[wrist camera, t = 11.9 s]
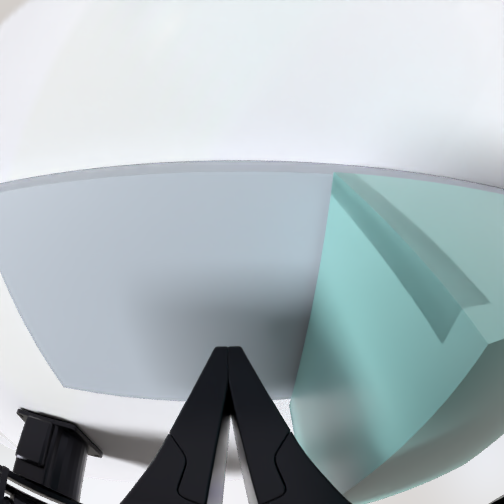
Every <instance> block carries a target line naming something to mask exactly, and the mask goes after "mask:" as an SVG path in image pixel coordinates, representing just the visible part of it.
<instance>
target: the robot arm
mask: <svg viewBox="0 0 504 504" xmlns="http://www.w3.org/2000/svg"><path fill="white" fill-rule="evenodd" d="M17 414H18V415H19V416H20V417H21V419H22V420H23V421H24V422H25V424H24V427H23V430H22V434H21V437H20V440H19V443H18V446H17V450H16V461H15V465H14V468H13V472H12V471H10V470H9V468H7V467H5V466H1V465H0V504H47V503H45V502H43V501H41V500H39V499H36V498H34V497H32V496H30V495H28V494H26V493H24V492H22V491H20V490H18V489H16V488H14V487H13V486H10V485H9V484H7V479H9V480H10V481H12V482H14V483H16V484H18V485H20V486H22V487H24V488H26V489H28V490H30V491H32V492H34V493H36V494H38V495H40V496H42V497H45V498H47V499H49V500H51V501H54V502H56V503H58V504H82V503H79V501H80V494H81V488H82V482H83V476H84V471H85V465H86V460H87V455H90V456H95V457H100V458H102V454H103V453H102V452H101V451H100V450H99V449H98V448H97V447H96V446H95V445H94V444H93V443H92V442H91V441H90V440H89V439H88V438H87V437H86V436H85V435H84V434H83V433H82V432H81V431H80V430H79V429H78V428H77V427H76V426H74V425H72V424H69V423H65V422H61V421H58V420H54V419H50V418H47V417H43V416H40V415H36V414H33V413H30V412H27V411H24V410H21V409H18V410H17ZM230 419H232V424H233V429H234V435H235V440H236V445H237V450H238V455H239V460H240V465H241V470H242V474H243V479H244V483H245V488H246V493H247V497H248V502H249V504H352V503H351V502H350V501H348V500H347V499H346V498H345V497H344V496H343V495H342V494H341V493H340V492H339V491H338V490H337V489H336V488H335V487H334V486H333V484H332V483H331V482H330V481H329V480H328V479H327V478H326V477H325V476H324V475H323V474H322V472H321V471H320V470H319V469H318V468H317V467H316V466H315V464H314V463H313V462H312V461H311V459H310V458H309V457H308V456H307V454H306V453H305V452H304V450H303V449H302V447H301V446H300V444H299V443H298V441H297V440H296V438H295V437H294V435H293V433H292V432H290V429H289V427H288V426H287V424H286V422H285V421H284V419H283V417H282V416H281V414H280V412H279V411H278V409H277V407H276V406H275V404H274V402H273V401H272V399H271V397H270V396H269V394H268V392H267V391H266V389H265V387H264V386H263V384H262V382H261V380H260V379H259V377H258V375H257V373H256V372H255V370H254V368H253V366H252V365H251V363H250V361H249V359H248V358H247V356H246V354H245V352H244V350H243V349H242V347H241V346H229V347H227V346H216V347H215V348H214V349H213V351H212V353H211V355H210V357H209V359H208V361H207V363H206V365H205V367H204V368H203V370H202V372H201V374H200V376H199V378H198V380H197V382H196V384H195V385H194V387H193V389H192V391H191V393H190V395H189V397H188V399H187V400H186V402H185V404H184V406H183V408H182V410H181V412H180V414H179V415H178V417H177V419H176V421H175V423H174V425H173V427H172V429H171V430H170V434H168V436H167V438H166V439H165V441H164V443H163V445H162V447H161V448H160V450H159V452H158V453H157V455H156V457H155V458H154V460H153V461H152V463H151V464H150V465H149V467H148V468H147V470H146V471H145V472H144V474H143V475H142V476H141V478H140V479H139V480H138V482H137V483H136V484H135V486H134V487H133V488H132V489H131V491H130V492H129V493H128V494H127V496H126V497H125V498H124V499H123V501H122V502H121V503H120V504H222V502H223V491H224V481H225V470H226V460H227V450H228V439H229V429H230ZM4 493H7V494H8V495H10V498H9V497H7V496H6V497H4ZM489 504H504V495H502V496H501V497H499V498H497V499H496V500H494V501H492V502H491V503H489Z"/></svg>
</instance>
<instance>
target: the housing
mask: <svg viewBox="0 0 504 504" xmlns="http://www.w3.org/2000/svg"><path fill="white" fill-rule="evenodd" d="M289 406H290V412H291V418H292V424H293V430H294V436H295V438H296V440H297V441H298V443H299V444H300V446H301V447H302V449H303V450H304V452H305V453H306V454H307V456H308V457H309V458H310V459H311V461H312V462H313V463H314V464H315V466H316V467H317V468H318V469H319V470H320V471H321V472H322V474H323V475H324V476H325V477H326V478H327V479H328V480H329V481H330V482H331V483H332V484H333V486H334V487H335V488H336V489H337V490H338V491H339V492H340V493H341V494H342V495H343V496H344V497H345V498H346V499H347V500H348V501H350V502H351V503H352V504H367V503H370V502H374V501H377V500H380V499H384V498H387V497H389V496H393V495H395V494H398V493H401V492H404V491H407V490H409V489H412V488H414V487H417V486H419V485H422V484H424V483H426V482H429V481H431V480H433V479H435V478H438V477H440V476H442V475H444V474H446V473H448V472H450V471H452V470H454V469H456V468H458V467H460V466H462V465H464V464H466V463H467V462H468V461H470V460H471V459H472V458H474V457H475V456H477V455H478V454H479V453H481V452H482V451H483V450H484V449H485V448H487V447H488V446H489V445H491V444H492V443H493V442H494V441H496V440H497V439H498V438H499V437H500V436H502V435H503V434H504V195H503V194H499V193H494V192H489V191H483V190H478V189H473V188H467V187H461V186H455V185H449V184H442V183H435V182H428V181H421V180H413V179H405V178H396V177H387V176H377V175H366V174H354V173H341V172H334V173H333V181H332V189H331V197H330V204H329V211H328V218H327V225H326V231H325V238H324V244H323V250H322V256H321V262H320V267H319V273H318V279H317V284H316V289H315V295H314V300H313V305H312V310H311V315H310V320H309V324H308V329H307V334H306V338H305V343H304V347H303V352H302V356H301V360H300V365H299V369H298V373H297V377H296V381H295V385H294V389H293V393H292V397H291V401H290V405H289Z"/></svg>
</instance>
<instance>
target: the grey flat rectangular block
mask: <svg viewBox="0 0 504 504" xmlns="http://www.w3.org/2000/svg"><path fill="white" fill-rule="evenodd" d="M334 172H341V173H354V174H366V175H377V176H387V177H396V178H405V179H413V180H421V181H428V182H435V183H442V184H449V185H455V186H461V187H467V188H473V189H478V190H483V191H489V192H494V193H499V194H503V195H504V189H501V188H497V187H493V186H488V185H483V184H478V183H473V182H468V181H463V180H457V179H452V178H446V177H440V176H434V175H427V174H421V173H414V172H406V171H398V170H390V169H381V168H372V167H362V166H351V165H339V164H325V163H308V162H285V161H190V162H168V163H151V164H137V165H125V166H114V167H104V168H95V169H86V170H78V171H71V172H64V173H57V174H50V175H44V176H38V177H32V178H26V179H21V180H15V181H10V182H5V183H1V184H0V272H1V274H2V277H3V279H4V282H5V284H6V286H7V288H8V291H9V293H10V295H11V297H12V299H13V302H14V304H15V306H16V308H17V310H18V312H19V314H20V316H21V318H22V320H23V321H24V323H25V325H26V327H27V329H28V331H29V333H30V334H31V336H32V338H33V340H34V341H35V343H36V345H37V347H38V348H39V350H40V352H41V353H42V355H43V357H44V358H45V360H46V361H47V363H48V364H49V366H50V368H51V369H52V371H53V372H54V374H55V375H56V377H57V378H58V380H59V381H60V382H61V384H62V385H63V387H66V388H71V389H76V390H82V391H88V392H94V393H101V394H108V395H115V396H124V397H133V398H143V399H155V400H170V401H186V400H187V399H188V397H189V395H190V393H191V391H192V389H193V387H194V385H195V384H196V382H197V380H198V378H199V376H200V374H201V372H202V370H203V368H204V367H205V365H206V363H207V361H208V359H209V357H210V355H211V353H212V351H213V349H214V348H215V347H216V346H227V347H229V346H241V347H242V349H243V350H244V352H245V354H246V356H247V358H248V359H249V361H250V363H251V365H252V366H253V368H254V370H255V372H256V373H257V375H258V377H259V379H260V380H261V382H262V384H263V386H264V387H265V389H266V391H267V392H268V394H269V396H270V397H271V399H272V400H279V399H291V397H292V393H293V389H294V385H295V381H296V377H297V373H298V369H299V365H300V360H301V356H302V352H303V347H304V343H305V338H306V334H307V329H308V324H309V320H310V315H311V310H312V305H313V300H314V295H315V289H316V284H317V279H318V273H319V267H320V262H321V256H322V250H323V244H324V238H325V231H326V225H327V218H328V211H329V204H330V197H331V189H332V181H333V173H334Z"/></svg>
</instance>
